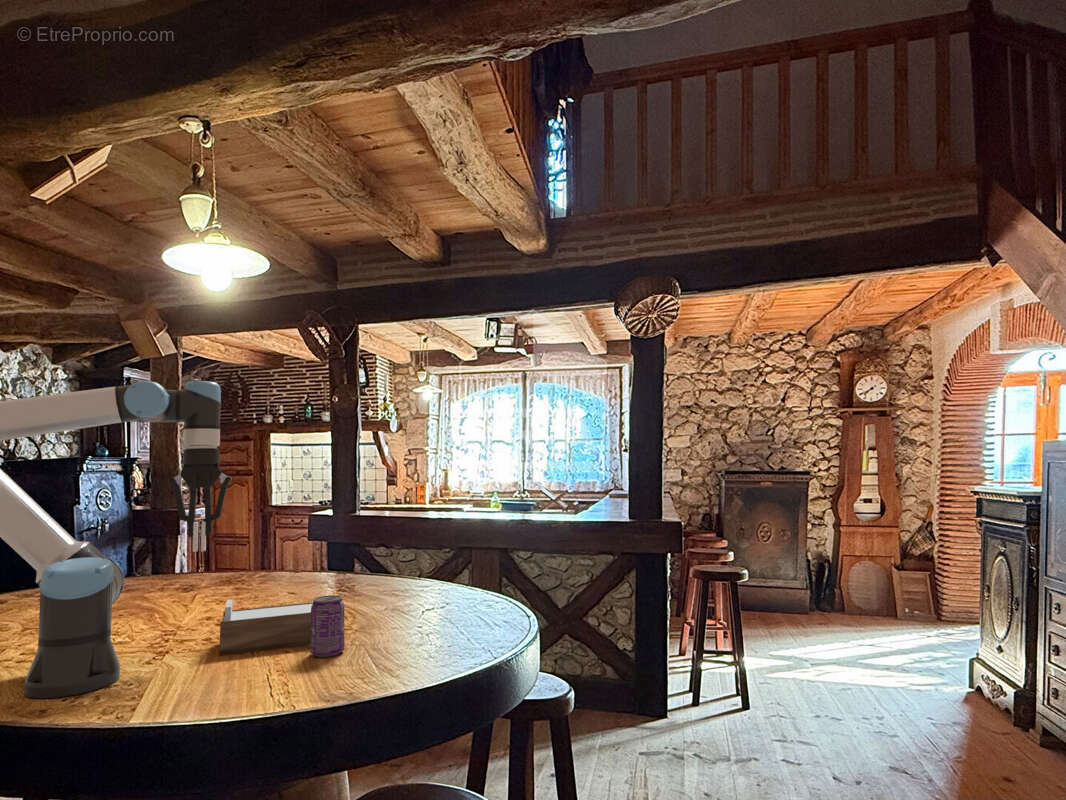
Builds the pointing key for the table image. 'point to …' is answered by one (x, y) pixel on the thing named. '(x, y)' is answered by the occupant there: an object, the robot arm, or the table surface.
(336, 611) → the beverage can
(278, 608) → the lid
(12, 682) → the table surface
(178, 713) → the table surface
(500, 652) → the table surface
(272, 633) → the box
